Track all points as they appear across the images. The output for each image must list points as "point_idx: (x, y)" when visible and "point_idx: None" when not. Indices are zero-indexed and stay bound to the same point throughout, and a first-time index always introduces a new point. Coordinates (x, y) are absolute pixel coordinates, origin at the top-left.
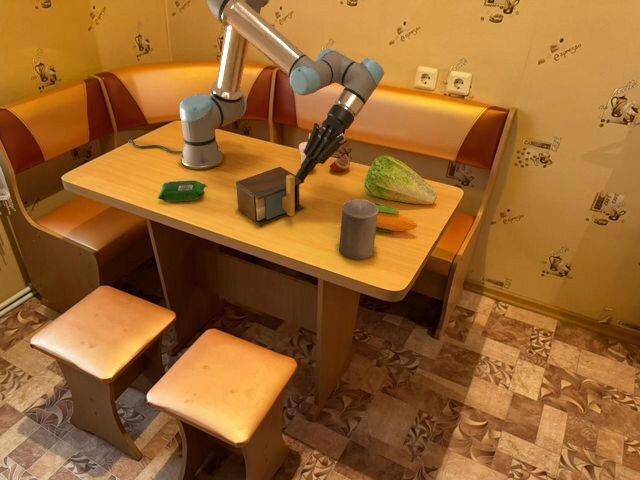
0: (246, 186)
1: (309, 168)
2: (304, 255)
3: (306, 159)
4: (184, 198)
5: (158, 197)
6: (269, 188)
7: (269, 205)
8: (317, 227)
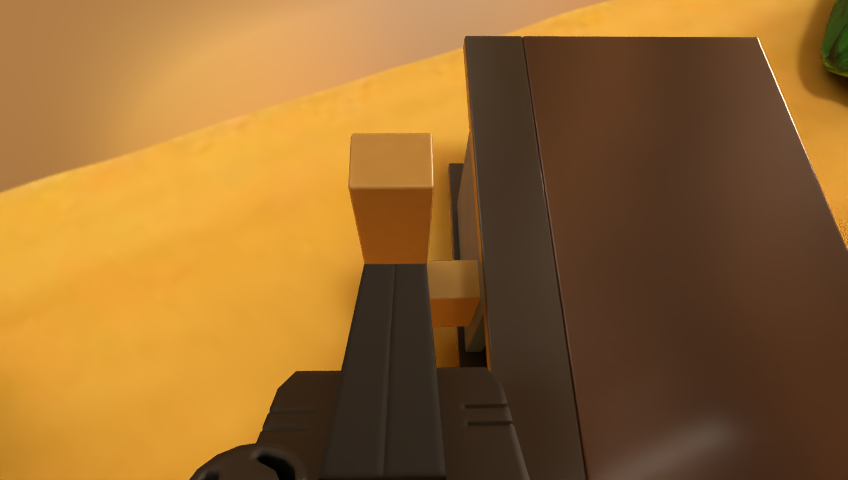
0: (655, 52)
1: (279, 399)
2: (100, 194)
3: (429, 437)
4: (834, 11)
5: None
6: (542, 149)
7: (467, 173)
8: (226, 413)
